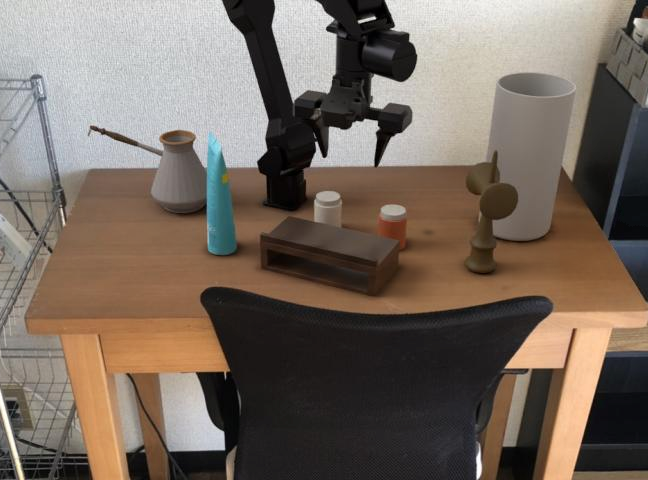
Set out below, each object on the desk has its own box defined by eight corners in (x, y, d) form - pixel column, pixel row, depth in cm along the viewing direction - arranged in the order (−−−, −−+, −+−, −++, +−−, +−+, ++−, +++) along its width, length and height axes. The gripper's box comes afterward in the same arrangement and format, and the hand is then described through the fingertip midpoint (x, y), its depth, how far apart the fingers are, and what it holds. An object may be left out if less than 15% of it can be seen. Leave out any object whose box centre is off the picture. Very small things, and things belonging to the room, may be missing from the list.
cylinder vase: (547, 213, 154) (572, 74, 139) (551, 245, 144) (579, 99, 129) (478, 208, 156) (495, 70, 141) (477, 240, 146) (497, 95, 131)
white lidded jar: (309, 233, 148) (309, 198, 144) (321, 222, 151) (321, 188, 147) (334, 239, 146) (335, 204, 142) (345, 227, 149) (346, 193, 145)
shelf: (261, 268, 138) (259, 234, 134) (289, 242, 145) (288, 209, 141) (374, 296, 131) (376, 261, 127) (398, 268, 138) (400, 233, 134)
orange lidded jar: (372, 247, 143) (374, 212, 140) (383, 235, 147) (385, 201, 143) (399, 253, 142) (401, 218, 138) (409, 241, 145) (412, 206, 141)
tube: (243, 255, 141) (237, 144, 129) (216, 261, 139) (207, 149, 128) (227, 236, 146) (220, 128, 135) (201, 242, 145) (191, 133, 133)
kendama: (470, 283, 134) (485, 163, 122) (454, 254, 142) (467, 139, 130) (506, 281, 135) (525, 161, 123) (489, 252, 142) (505, 137, 130)
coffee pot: (217, 190, 161) (211, 113, 152) (212, 217, 152) (206, 136, 143) (105, 191, 161) (92, 113, 152) (93, 218, 152) (79, 137, 142)
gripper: (277, 73, 128) (279, 170, 138) (393, 90, 123) (387, 190, 132) (306, 53, 136) (306, 146, 146) (417, 68, 131) (409, 164, 140)
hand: (350, 161), depth 141 cm, fingers open, 9 cm apart
